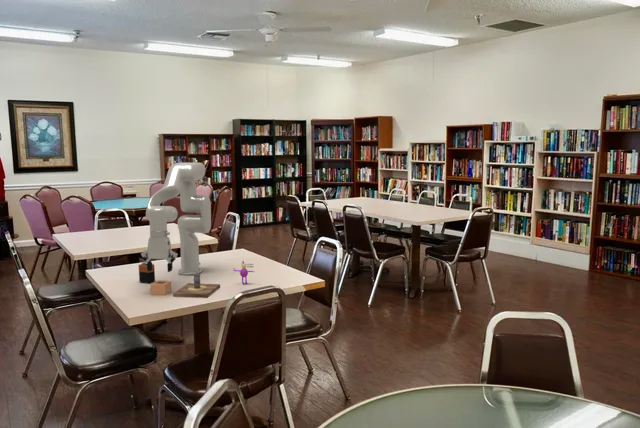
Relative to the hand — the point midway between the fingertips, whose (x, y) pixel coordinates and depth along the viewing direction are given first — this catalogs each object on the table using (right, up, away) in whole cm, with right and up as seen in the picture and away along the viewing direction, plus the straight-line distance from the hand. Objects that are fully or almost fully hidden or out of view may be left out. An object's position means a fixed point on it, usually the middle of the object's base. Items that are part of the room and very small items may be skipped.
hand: (159, 271), depth 232 cm
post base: (+16, -10, +4) cm, 20 cm away
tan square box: (0, -10, +2) cm, 11 cm away
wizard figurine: (+36, -9, +17) cm, 41 cm away
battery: (-13, -8, +22) cm, 27 cm away
